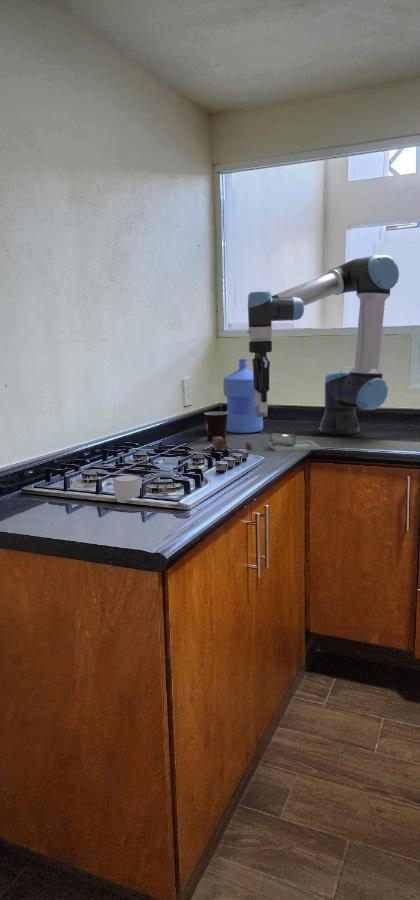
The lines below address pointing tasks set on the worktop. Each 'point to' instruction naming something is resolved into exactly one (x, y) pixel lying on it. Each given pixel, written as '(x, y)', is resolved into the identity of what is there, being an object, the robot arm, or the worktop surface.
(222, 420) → the coffee mug
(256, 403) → the cell
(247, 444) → the brown wooden stand
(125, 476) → the light grey cup
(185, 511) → the worktop surface
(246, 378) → the water jug
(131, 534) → the worktop surface
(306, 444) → the pale green tray
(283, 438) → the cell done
